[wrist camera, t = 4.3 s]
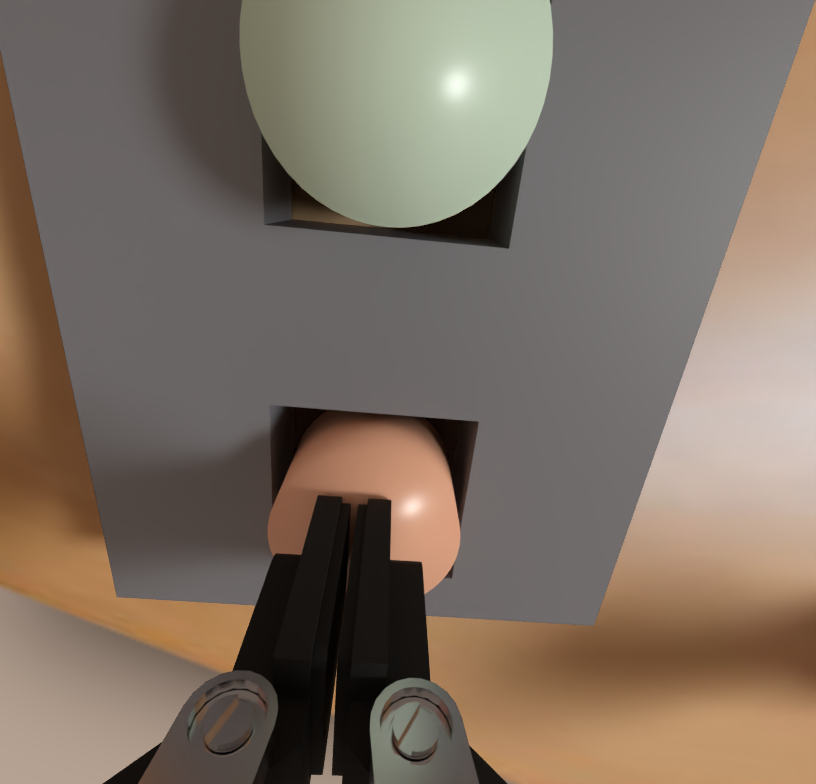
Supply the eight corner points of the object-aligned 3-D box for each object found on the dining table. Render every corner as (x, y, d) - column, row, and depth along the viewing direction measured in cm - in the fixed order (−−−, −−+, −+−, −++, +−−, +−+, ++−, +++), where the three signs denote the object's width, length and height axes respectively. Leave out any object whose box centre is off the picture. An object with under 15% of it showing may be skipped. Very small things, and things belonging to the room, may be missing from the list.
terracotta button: (296, 392, 12) (264, 449, 9) (458, 405, 12) (473, 464, 10) (296, 523, 14) (270, 604, 11) (438, 533, 14) (447, 615, 11)
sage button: (288, -51, 8) (230, -177, 5) (527, -22, 8) (587, -129, 6) (290, 209, 10) (246, 213, 7) (488, 229, 10) (520, 240, 7)
